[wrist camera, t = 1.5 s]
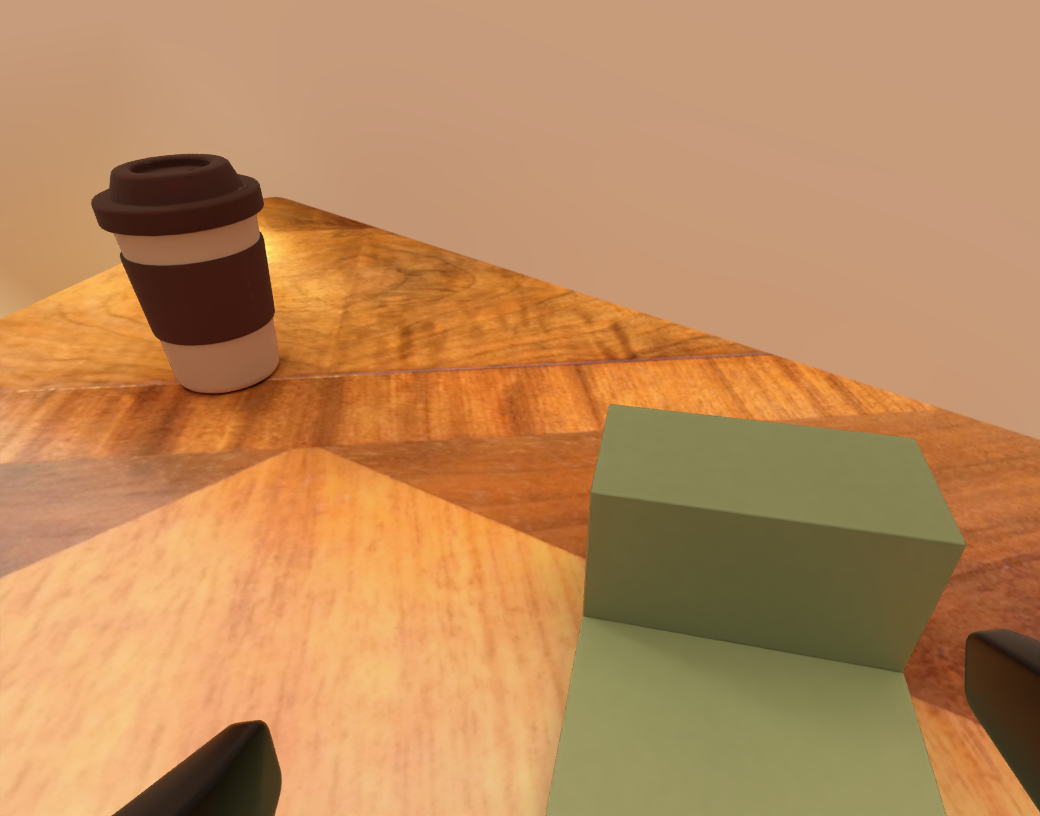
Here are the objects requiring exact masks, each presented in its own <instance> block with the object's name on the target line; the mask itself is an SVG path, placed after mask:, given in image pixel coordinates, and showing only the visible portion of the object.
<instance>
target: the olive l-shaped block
mask: <svg viewBox="0 0 1040 816" xmlns="http://www.w3.org/2000/svg"><path fill="white" fill-rule="evenodd" d="M965 547H966V542H965V540H964V538H963V536H962V534H961V532H960V530H959V528H958V526H957V524H956V522H955V520H954V518H953V516H952V514H951V512H950V509H949V507H948V505H947V503H946V501H945V499H944V497H943V495H942V493H941V491H940V489H939V487H938V485H937V483H936V481H935V479H934V477H933V474H932V472H931V470H930V468H929V466H928V464H927V462H926V460H925V458H924V456H923V454H922V452H921V450H920V448H919V446H918V444H917V442H916V440H915V439H914V438H908V437H899V436H890V435H881V434H872V433H864V432H855V431H846V430H837V429H828V428H819V427H810V426H801V425H792V424H783V423H774V422H765V421H757V420H748V419H739V418H730V417H721V416H712V415H703V414H694V413H685V412H676V411H667V410H658V409H649V408H641V407H632V406H623V405H614V404H610V405H609V408H608V413H607V417H606V422H605V426H604V431H603V436H602V440H601V445H600V450H599V454H598V459H597V464H596V468H595V473H594V478H593V482H592V487H591V492H590V506H589V522H588V538H587V553H586V569H585V585H584V601H583V617H582V621H581V626H580V632H579V637H578V642H577V648H576V653H575V659H574V664H573V669H572V675H571V680H570V686H569V691H568V696H567V702H566V707H565V713H564V718H563V723H562V729H561V734H560V740H559V745H558V751H557V756H556V761H555V767H554V772H553V778H552V783H551V788H550V794H549V799H548V805H547V810H546V815H545V816H947V815H946V812H945V809H944V805H943V802H942V799H941V796H940V792H939V789H938V786H937V782H936V779H935V776H934V772H933V769H932V766H931V762H930V759H929V756H928V752H927V749H926V746H925V743H924V739H923V736H922V733H921V729H920V726H919V723H918V719H917V716H916V713H915V709H914V706H913V703H912V699H911V696H910V693H909V690H908V686H907V683H906V680H905V676H904V674H903V671H904V669H905V667H906V665H907V663H908V661H909V659H910V657H911V655H912V653H913V651H914V649H915V647H916V645H917V643H918V641H919V639H920V637H921V635H922V633H923V631H924V629H925V627H926V625H927V623H928V621H929V619H930V617H931V615H932V613H933V611H934V609H935V607H936V605H937V603H938V601H939V599H940V597H941V595H942V593H943V591H944V589H945V587H946V585H947V583H948V581H949V579H950V577H951V575H952V573H953V571H954V569H955V567H956V565H957V563H958V561H959V559H960V557H961V555H962V553H963V551H964V549H965Z"/></svg>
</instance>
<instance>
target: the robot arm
mask: <svg viewBox="0 0 1040 816" xmlns="http://www.w3.org/2000/svg"><path fill="white" fill-rule="evenodd" d="M965 693H966V697H967V700H968V703H969V705H970V707H971V709H972V711H973V713H974V714H975V716H976V717H977V719H978V720H979V722H980V723H981V725H982V726H983V728H984V729H985V731H986V732H987V734H988V735H989V737H990V738H991V740H992V741H993V743H994V744H995V746H996V747H997V749H998V750H999V752H1000V753H1001V755H1002V756H1003V758H1004V759H1005V761H1006V762H1007V764H1008V765H1009V767H1010V768H1011V770H1012V771H1013V773H1014V774H1015V776H1016V777H1017V779H1018V780H1019V782H1020V783H1021V785H1022V786H1023V788H1024V789H1025V791H1026V792H1027V794H1028V795H1029V797H1030V798H1031V800H1032V801H1033V803H1034V804H1035V806H1036V807H1037V809H1038V810H1039V812H1040V641H1039V640H1036V639H1033V638H1030V637H1027V636H1025V635H1022V634H1019V633H1016V632H1014V631H1011V630H1007V629H994V630H986V631H978V632H973V633H972V634H970V635H969V636H968V638H967V640H966V655H965ZM281 785H282V777H281V770H280V766H279V762H278V759H277V755H276V751H275V748H274V744H273V741H272V737H271V734H270V730H269V728H268V726H267V724H266V723H265V722H263V721H261V720H255V721H247V722H239V723H234V724H231V725H230V726H228V727H227V728H225V729H224V730H223V731H222V732H220V733H219V734H218V735H216V736H215V737H214V738H212V739H211V740H210V741H209V742H207V743H206V744H205V745H203V746H202V747H201V748H199V749H198V750H197V751H195V752H194V753H193V754H192V755H190V756H189V757H188V758H186V759H185V760H184V761H182V762H181V763H180V764H179V765H177V766H176V767H175V768H173V769H172V770H171V771H169V772H168V773H167V774H166V775H164V776H163V777H162V778H160V779H159V780H158V781H156V782H155V783H154V784H153V785H151V786H150V787H149V788H147V789H146V790H145V791H143V792H142V793H141V794H140V795H138V796H137V797H136V798H134V799H133V800H132V801H130V802H129V803H128V804H126V805H125V806H124V807H123V808H121V809H120V810H119V811H117V812H116V813H115V814H113V815H112V816H275V812H276V808H277V804H278V800H279V796H280V792H281Z"/></svg>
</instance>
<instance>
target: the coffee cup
mask: <svg viewBox="0 0 1040 816" xmlns="http://www.w3.org/2000/svg"><path fill="white" fill-rule="evenodd" d="M109 187H110V188H109V189H107V190H105V191H103V192H101V193H99V194H97V195H96V196H95V197H94V198H93V199H92V202H91V204H92V208H93V210H94V213H95V216H96V219H97V221H98V224H99V226H100V227H101V228H102V229H104V230H106V231H108V232H111V233H114V235H115V237H116V240H117V242H118V245H119V247H120V249H121V253H120V258H121V261H122V264H123V266H124V268H125V270H126V273H127V275H128V277H129V279H130V282H131V284H132V286H133V289H134V291H135V293H136V295H137V298H138V300H139V302H140V305H141V307H142V309H143V311H144V314H145V316H146V318H147V320H148V323H149V325H150V327H151V330H152V332H153V333H154V335H155V336H156V337H157V338H158V339H160V342H161V344H162V346H163V348H164V351H165V353H166V355H167V358H168V360H169V362H170V365H171V367H172V369H173V372H174V374H175V376H176V378H177V380H178V382H179V383H180V384H181V385H182V386H184V387H185V388H187V389H189V390H191V391H195V392H201V393H224V392H230V391H236V390H239V389H243V388H246V387H249V386H252V385H254V384H256V383H258V382H260V381H262V380H264V379H265V378H267V377H268V376H269V375H271V374H272V373H273V372H274V371H275V369H276V367H277V366H278V363H279V352H278V346H277V340H276V333H275V327H274V321H273V316H274V313H275V308H274V301H273V295H272V288H271V282H270V275H269V269H268V262H267V256H266V249H265V243H264V238H263V235H262V233H261V232H259V227H258V221H257V213H258V212H259V211H260V210H261V209H262V208H263V206H264V202H263V197H262V193H261V188H260V184H259V183H258V181H257V180H255V179H254V178H251V177H248V176H244V175H240V174H237V173H236V171H235V170H234V169H233V167H232V166H231V164H230V162H229V161H228V160H227V159H225V158H223V157H221V156H216V155H209V154H179V155H166V156H158V157H150V158H145V159H140V160H135V161H131V162H127V163H125V164H122V165H119V166H117V167H115V168H114V169H113V170H112V171H111V176H110V186H109Z"/></svg>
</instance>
